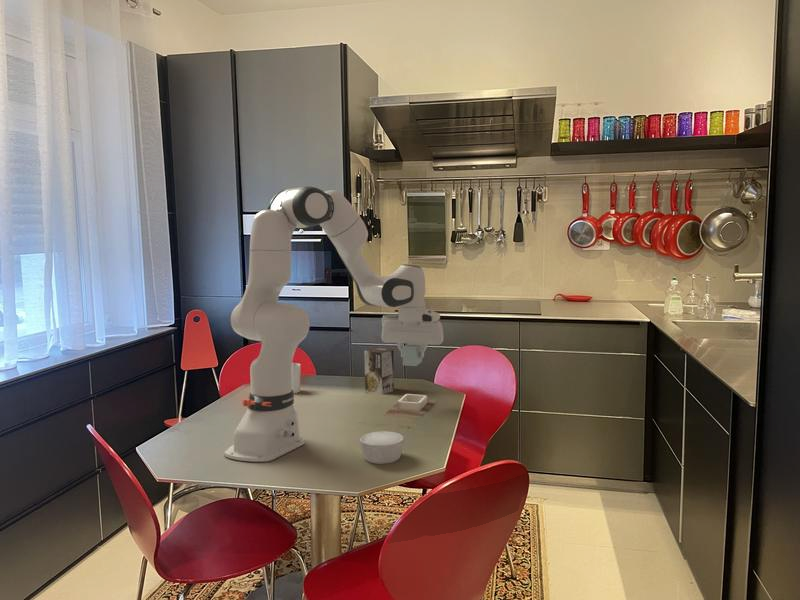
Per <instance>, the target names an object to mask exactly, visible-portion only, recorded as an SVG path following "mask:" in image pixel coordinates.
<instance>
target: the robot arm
mask: <svg viewBox="0 0 800 600" xmlns="http://www.w3.org/2000/svg"><path fill="white" fill-rule="evenodd" d="M315 226H320V227H321V228H322V229H323V231H324V233H325V234H326V235H327V237H328V239H329V240H330V241H331V243H332V245H333V246H334V248H335V250H336V252H337V253H338V255H339V258H340V259H341V261H342V263H343V264H344V266H345V268H346V270H347V271H348V273H349V274H350V276H351V278H352V280H353V282H354V283H355V287H356V291H357V294H358V297H359V299H360V301H361V302H363V303H364V304H365V305H368V306H370V307H371V306H379V307H384V308H385V307H387V308H396V307H397V309H398V310H397V311H398V312H397V313H396V314H391V313H386V314H385V315H383V316H382V317H381V326H382V329H381V341H382V343H386V344H387V343H389V344H396V345H397V348H398V350H399V352H400V357H401V358H403V352H402V347H403V346H404V344H421V345H422V351H421V352H418V355H419V356H418V357H419V358H422V359H423V358H425V352H426V350H427V348H428V345H432V346H439V345H441V344H442V343H443V342H444V328H443V324H442V322H441V321H439V320H440V319H441V314H440V313H439V312H437V311H433V310H430V309H428V308H426V302H425V295H426V278H425V277H426V276H425V271H424V270H423V268H422V267H421V266H418V265H414V264H404V263H403V264H401V265H399V266H398V267H399V268H397V269H396V270H395V271H393V272H392V273H391V274H387V275H379V274H377V273H374V272H373V271H372V270H371V268H370V267H369V265H368V263H367V261H366V260H365V258H364V255H363V254H362V252H361V249H362V248H363V247H364V246H365V244H366V243H367V240H368V238H369V231H368V229H367V226H366V223H365V222H364V221H363V219H362V218H361V216H360V214H359V213H358V211H357V210H356V208H355V207H354V206H353V205H352V204H351V203H350V201H349V200H348V199H347V198H346V197H345V195H343V194H342V193H341V192H340V191H338V190H336V189H330V190H326V191H323V190H322V189H320V188H318V187H314V186H304V187H303V186H302V187H301V186H296V187H291V188H288V189H283V190H281V191H278V192H277V193H276V194H275V195H274V196H273V198H272V199H271V200H270V203H269V205H268V207H267V209H263V210H260V211H259V212H257V213H256V214H255V215H254V218H253V219H252V225H251V231H250V239H249V257H248V258H249V259H248V260H249V261H248V262H249V263H248V279H247V284H246V288H245V290H244V294H243V296H242V297H241V300H240V302H239V303H238V304H237V305H236V306H235V307H234V309H233V310H232V311H231V315H230V325H231V328H232V330H233V331H234V332H235V333H236V334H237V335H239V336H240V337H243V338H245V339H247V340H252V341H258V342H261V348H260V350H259V355H258V356H257V357H256V358H255V359H253V361H251V364H250V367H249V369H250V371H249V374H250V392H249V395H248V398H243V399H242V403H241V404H242V405H241V406H243V407H247V410H246V412H245V413H244V415H243V416H242V418H241V420H240V421H239V424H238V426H237V427H236V428H235V429H234V433H233V444H232V445H230V446H229V447H228V448H227V449H226V450H225V451H224V457H226V458H227V459H231V460H236V461H243V462H255V463H259V462H262V463H263V462H269V461H273V460H275V459H277V458H279V457H281V456H284V455H286V454H287V453H289V452H291V451H293V450H295V449H297V448H299V447H301V446H303V445H305V440H304V438H303V437H301V430H300V420H299V413H298V412H297V411H296V409H295V407H294V403H295V400H294V398H295V393H294V394H293V390H292V363H293V359H294V355H295V352H296V350H297V348H298V346H299V344H301V342H302V341H304V340H305V339H306V338H307V335H308V334H309V331H310V327H311V325H310V322H311V321H310V318H309V315H308V313H307V312H306V311H305V309H303V308H300V306H299V307H298V306H297V305H294V304H290V303H285V302H278V301H279V297H280V294H281V291H282V290H283V288H284V287H285V286H286V285H289V282H290V280H291V276H292V274H291V273H292V237H293V233H294V231H295V229H296V228H297V229H301V228H302V229H303V228H308V227H315Z"/></svg>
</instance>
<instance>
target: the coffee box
mask: <svg viewBox="0 0 800 600" xmlns="http://www.w3.org/2000/svg"><path fill="white" fill-rule="evenodd" d="M363 355H364V379H365V380H364V384H365V385H364V386H365V388H364V389H365V391H364V392H365V394H369V393H370V392H372V393H375V394H380V395H385V394H388V393H391V392H394V391H395V384H394V383H395V382H394V381H395V378H394V370H395V369H394V367H395V366H394V364H395V363H394V349H389V348H380V347H373V348H372V347H371V348H368V349H364V353H363Z"/></svg>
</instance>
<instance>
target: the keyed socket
mask: <svg viewBox="0 0 800 600" xmlns="http://www.w3.org/2000/svg"><path fill="white" fill-rule="evenodd" d="M428 400H429V399H428V394H427V395H425V394H413V393H405V394H404V395H402V396H401V398H399V399H398V400H397V401H396V403H397V409H400V410H412V411H420V410H421V409H422V408H423V407H424V406H425V405H426V404H427V403H428Z"/></svg>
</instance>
